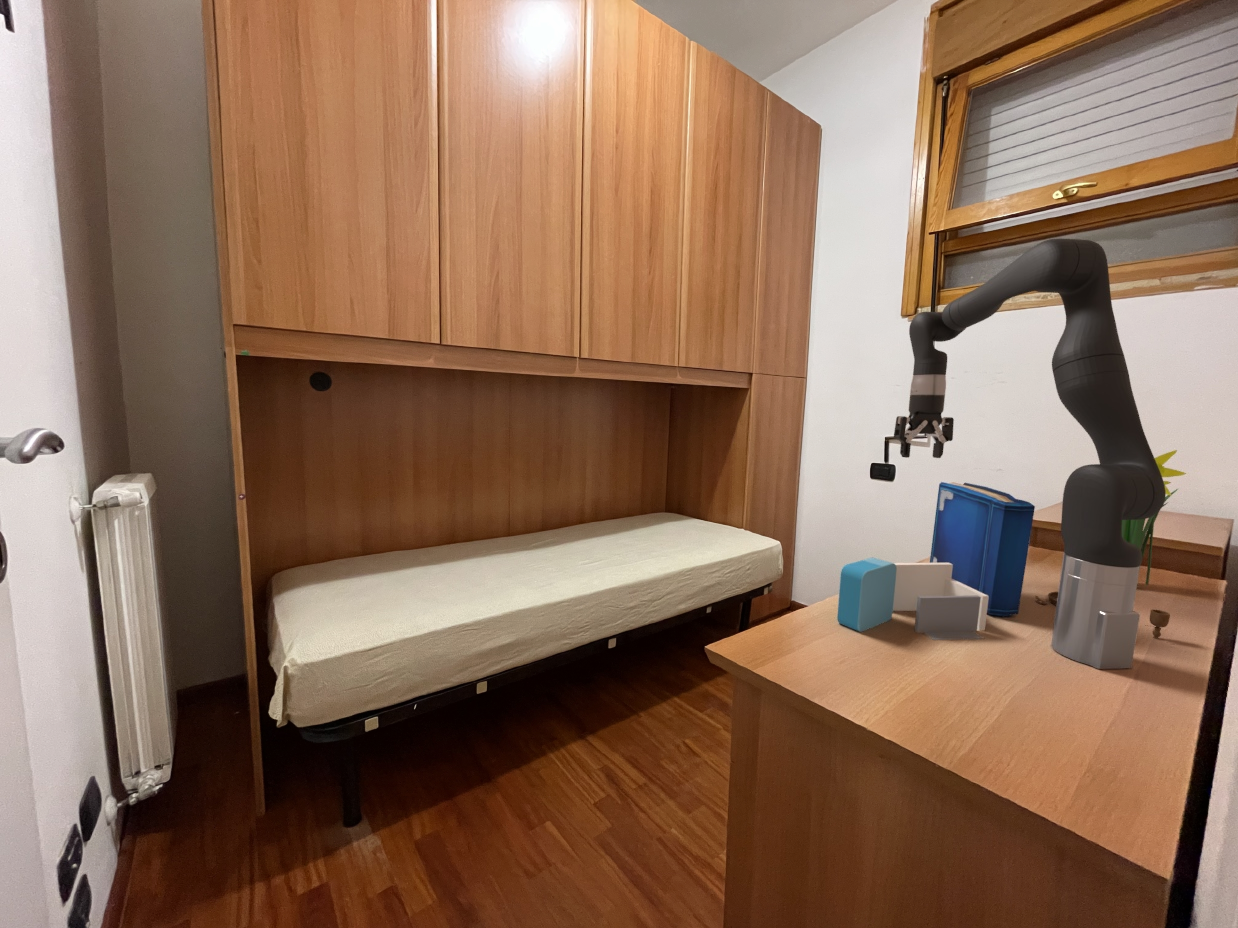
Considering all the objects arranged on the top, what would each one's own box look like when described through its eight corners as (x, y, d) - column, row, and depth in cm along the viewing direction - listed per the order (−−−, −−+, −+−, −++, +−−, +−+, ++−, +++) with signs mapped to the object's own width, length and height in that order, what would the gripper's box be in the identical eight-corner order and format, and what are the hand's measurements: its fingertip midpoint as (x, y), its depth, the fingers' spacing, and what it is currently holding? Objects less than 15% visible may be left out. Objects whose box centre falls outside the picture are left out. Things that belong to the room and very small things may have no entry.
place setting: (1129, 608, 107) (1133, 583, 106) (1173, 647, 90) (1179, 617, 89) (1027, 592, 116) (1030, 568, 115) (1049, 625, 98) (1053, 597, 98)
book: (1026, 620, 99) (1041, 499, 95) (990, 619, 99) (1005, 498, 96) (955, 581, 120) (966, 481, 117) (925, 581, 120) (936, 480, 117)
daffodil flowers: (1082, 568, 132) (1101, 439, 127) (1163, 584, 121) (1187, 443, 117) (1078, 584, 120) (1099, 442, 116) (1167, 602, 110) (1194, 447, 105)
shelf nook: (999, 639, 90) (1006, 587, 89) (928, 641, 89) (933, 588, 88) (943, 607, 104) (948, 562, 103) (881, 608, 103) (885, 563, 102)
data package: (870, 611, 102) (875, 555, 100) (892, 620, 98) (897, 562, 96) (836, 625, 95) (840, 565, 94) (858, 634, 91) (863, 572, 90)
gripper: (910, 392, 119) (904, 459, 121) (965, 394, 120) (958, 459, 122) (891, 393, 126) (885, 455, 128) (942, 394, 128) (936, 456, 130)
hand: (921, 457), depth 125 cm, fingers open, 8 cm apart
